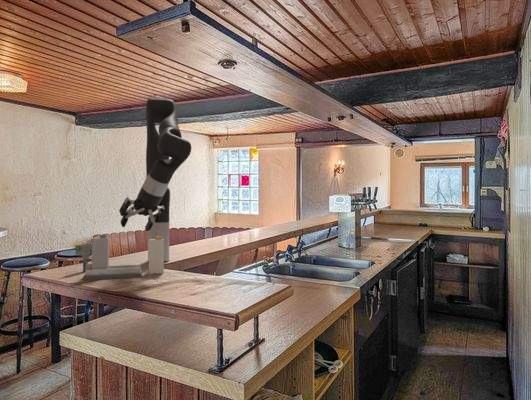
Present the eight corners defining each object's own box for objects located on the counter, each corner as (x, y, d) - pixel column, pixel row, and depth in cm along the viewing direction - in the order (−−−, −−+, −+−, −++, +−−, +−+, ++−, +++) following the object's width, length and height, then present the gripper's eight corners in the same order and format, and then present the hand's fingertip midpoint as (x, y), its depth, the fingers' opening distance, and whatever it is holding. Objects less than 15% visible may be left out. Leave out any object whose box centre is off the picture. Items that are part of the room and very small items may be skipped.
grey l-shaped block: (88, 274, 135) (88, 234, 135) (141, 271, 140) (142, 233, 141) (83, 280, 124) (83, 236, 124) (141, 277, 129) (142, 235, 129)
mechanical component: (96, 269, 147) (96, 243, 147) (81, 273, 137) (81, 245, 137) (89, 269, 147) (89, 243, 148) (73, 273, 137) (73, 245, 137)
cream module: (148, 271, 140) (149, 236, 141) (163, 271, 142) (163, 236, 142) (149, 273, 136) (149, 237, 137) (163, 273, 138) (163, 236, 138)
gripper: (169, 188, 135) (151, 225, 140) (130, 178, 126) (112, 217, 131) (175, 199, 129) (156, 237, 134) (135, 190, 120) (116, 230, 125)
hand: (134, 227), depth 133 cm, fingers open, 8 cm apart
